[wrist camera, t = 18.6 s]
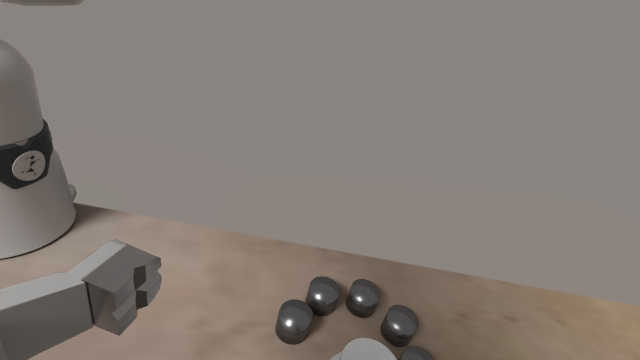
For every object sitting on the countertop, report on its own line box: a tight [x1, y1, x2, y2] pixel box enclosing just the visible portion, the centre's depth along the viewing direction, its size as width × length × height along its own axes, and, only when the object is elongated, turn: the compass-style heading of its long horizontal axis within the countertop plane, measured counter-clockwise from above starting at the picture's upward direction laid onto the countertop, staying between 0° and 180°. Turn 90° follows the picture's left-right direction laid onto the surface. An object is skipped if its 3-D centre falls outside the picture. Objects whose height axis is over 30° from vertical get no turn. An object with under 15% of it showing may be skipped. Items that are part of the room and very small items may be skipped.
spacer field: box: [276, 277, 434, 360], centre depth 43 cm, size 19×12×3 cm, turn 75°
